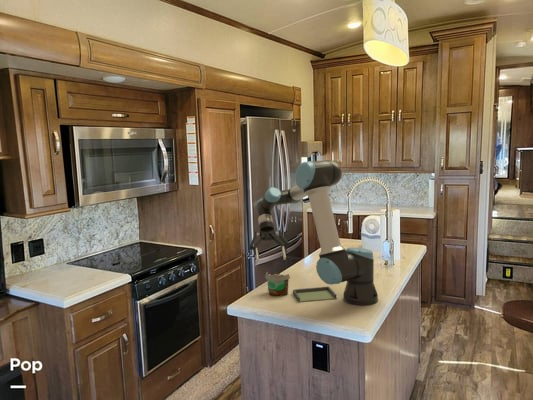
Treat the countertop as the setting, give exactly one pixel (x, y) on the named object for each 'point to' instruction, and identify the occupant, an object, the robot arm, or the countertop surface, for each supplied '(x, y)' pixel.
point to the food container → (277, 284)
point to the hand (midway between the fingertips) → (271, 259)
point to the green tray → (314, 294)
